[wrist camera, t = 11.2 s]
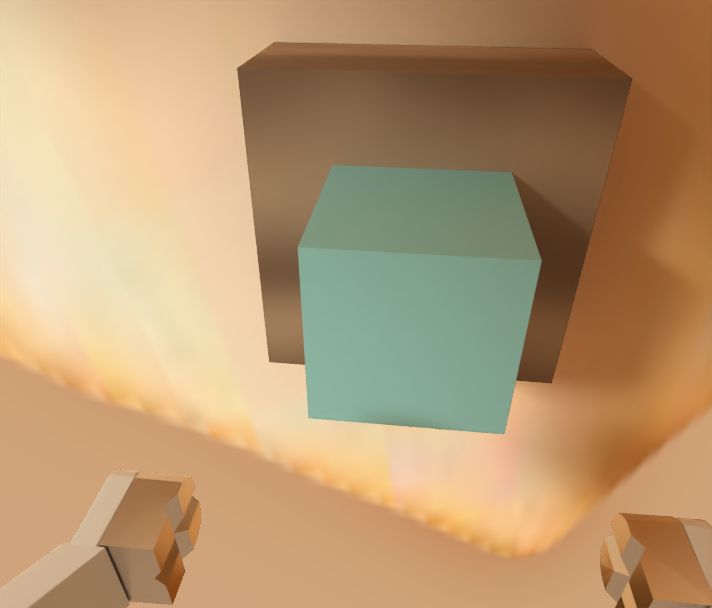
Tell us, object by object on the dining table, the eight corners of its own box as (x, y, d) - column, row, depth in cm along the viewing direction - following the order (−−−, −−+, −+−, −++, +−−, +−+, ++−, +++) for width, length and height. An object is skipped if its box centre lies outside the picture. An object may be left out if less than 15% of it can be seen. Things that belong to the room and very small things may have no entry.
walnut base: (274, 42, 22) (237, 68, 18) (591, 49, 21) (631, 78, 16) (292, 299, 28) (269, 361, 24) (533, 315, 27) (551, 383, 23)
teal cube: (332, 164, 19) (297, 247, 14) (511, 172, 18) (541, 260, 13) (335, 309, 22) (308, 418, 17) (487, 319, 22) (504, 434, 17)
